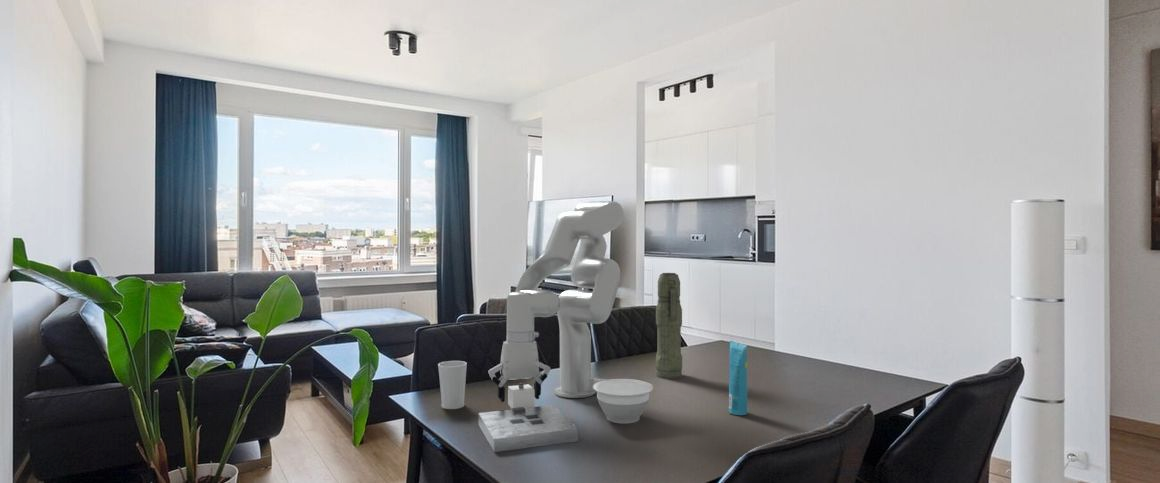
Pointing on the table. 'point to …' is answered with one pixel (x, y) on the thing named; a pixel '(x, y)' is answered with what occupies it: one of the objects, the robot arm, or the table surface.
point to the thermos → (669, 327)
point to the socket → (526, 428)
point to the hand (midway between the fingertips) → (519, 399)
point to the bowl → (623, 399)
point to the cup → (452, 383)
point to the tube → (738, 379)
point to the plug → (521, 396)
